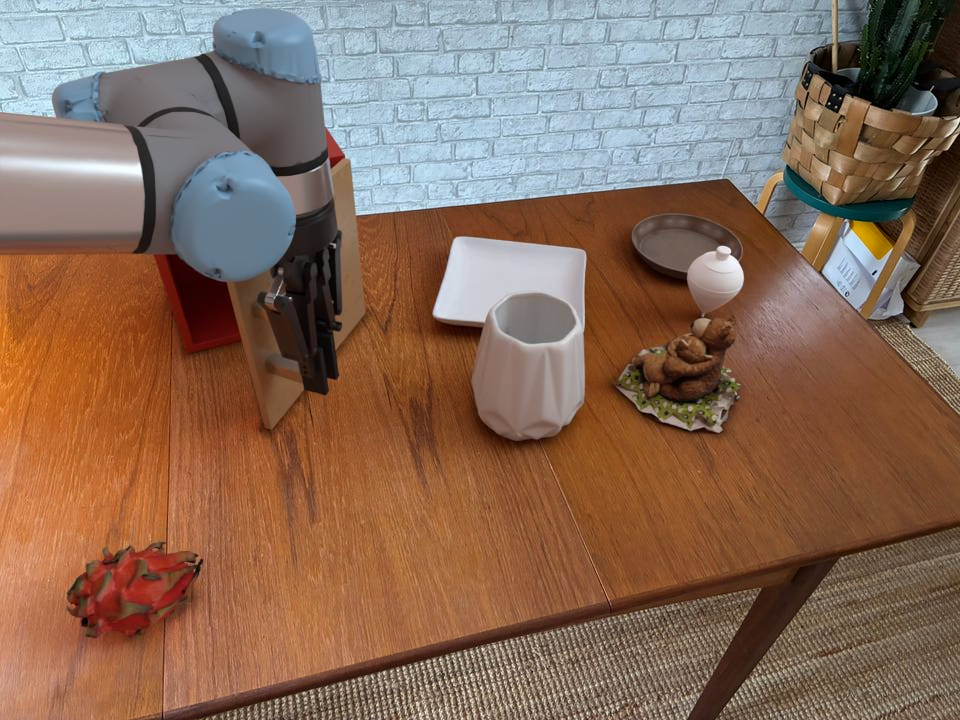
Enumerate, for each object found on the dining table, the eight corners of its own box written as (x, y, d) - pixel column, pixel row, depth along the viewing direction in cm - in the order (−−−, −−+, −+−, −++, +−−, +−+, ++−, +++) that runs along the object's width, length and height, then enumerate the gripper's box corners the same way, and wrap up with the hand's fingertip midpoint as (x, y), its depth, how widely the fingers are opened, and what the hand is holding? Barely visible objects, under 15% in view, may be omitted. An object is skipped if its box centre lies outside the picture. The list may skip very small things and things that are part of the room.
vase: (509, 356, 96) (516, 265, 86) (600, 400, 91) (620, 309, 80) (447, 416, 88) (447, 323, 78) (543, 470, 82) (557, 377, 72)
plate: (584, 264, 113) (587, 246, 111) (581, 352, 98) (584, 333, 95) (453, 251, 114) (453, 233, 112) (430, 336, 99) (430, 317, 97)
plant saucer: (621, 225, 122) (624, 210, 120) (722, 228, 122) (727, 213, 120) (638, 287, 109) (641, 271, 107) (751, 290, 109) (757, 274, 107)
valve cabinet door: (406, 324, 100) (398, 169, 84) (318, 446, 84) (287, 282, 67) (359, 311, 102) (343, 157, 86) (264, 428, 85) (221, 264, 69)
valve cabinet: (361, 310, 103) (345, 154, 86) (187, 354, 95) (132, 192, 78) (329, 252, 113) (310, 103, 96) (170, 287, 105) (119, 132, 88)
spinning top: (712, 297, 108) (734, 230, 100) (738, 329, 102) (764, 261, 94) (667, 305, 106) (685, 237, 98) (692, 337, 101) (713, 268, 93)
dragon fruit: (77, 635, 68) (208, 595, 73) (71, 675, 60) (218, 627, 65) (59, 551, 67) (193, 517, 72) (51, 581, 59) (202, 540, 64)
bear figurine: (642, 340, 100) (660, 270, 91) (747, 381, 94) (776, 311, 86) (603, 399, 91) (619, 327, 83) (716, 447, 86) (745, 376, 77)
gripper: (293, 155, 69) (321, 334, 86) (208, 234, 59) (258, 421, 75) (364, 168, 68) (378, 348, 84) (289, 252, 58) (322, 438, 74)
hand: (321, 382), depth 80 cm, fingers closed on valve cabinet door, 2 cm apart
